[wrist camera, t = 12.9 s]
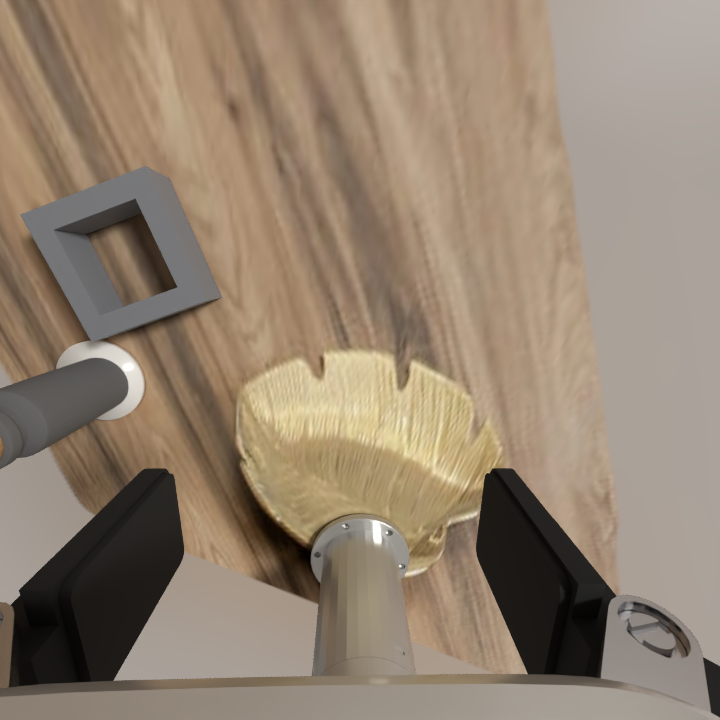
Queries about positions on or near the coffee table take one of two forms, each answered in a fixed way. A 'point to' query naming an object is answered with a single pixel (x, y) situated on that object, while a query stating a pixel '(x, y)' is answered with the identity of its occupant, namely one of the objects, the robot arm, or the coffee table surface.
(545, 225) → the coffee table surface
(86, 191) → the square frame
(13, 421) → the bottle
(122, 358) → the white round part
